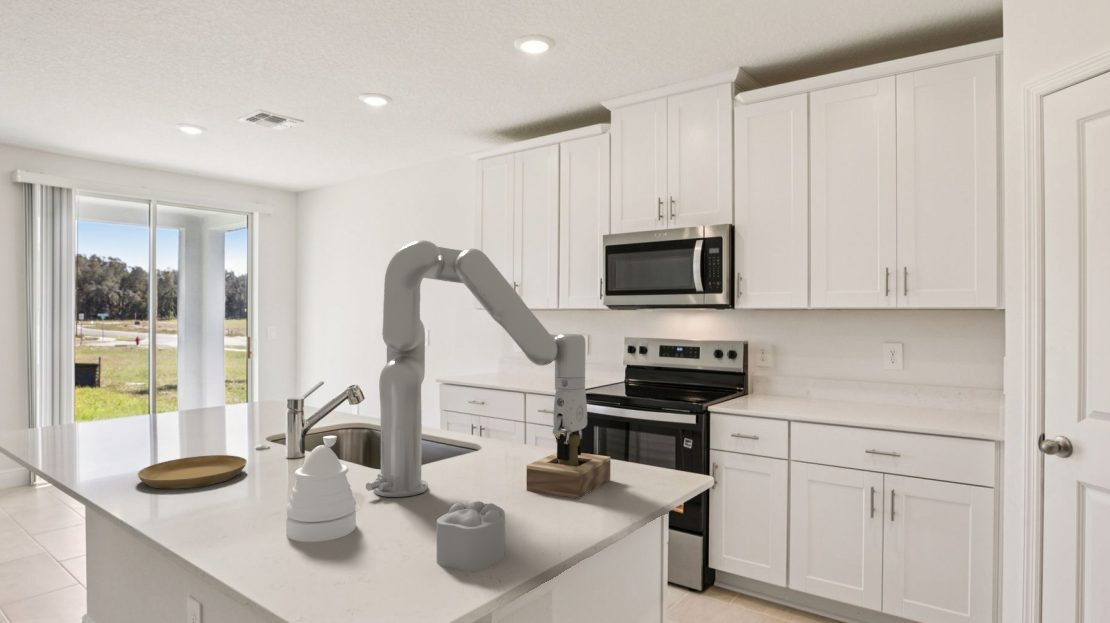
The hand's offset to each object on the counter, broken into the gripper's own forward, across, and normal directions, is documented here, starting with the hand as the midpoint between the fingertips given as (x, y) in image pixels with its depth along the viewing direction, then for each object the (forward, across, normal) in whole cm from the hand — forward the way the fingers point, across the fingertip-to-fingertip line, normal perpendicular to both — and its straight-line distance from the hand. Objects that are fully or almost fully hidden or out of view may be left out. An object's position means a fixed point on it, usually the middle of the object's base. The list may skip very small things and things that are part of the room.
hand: (569, 456), depth 157 cm
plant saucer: (+8, -42, +86) cm, 96 cm away
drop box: (+7, 0, 0) cm, 7 cm away
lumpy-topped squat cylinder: (+8, -47, -6) cm, 48 cm away
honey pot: (+8, -52, +28) cm, 59 cm away
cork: (+6, -1, 0) cm, 6 cm away
